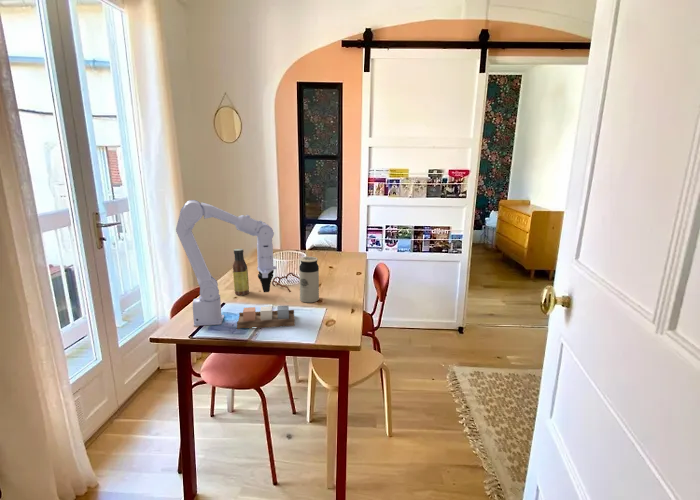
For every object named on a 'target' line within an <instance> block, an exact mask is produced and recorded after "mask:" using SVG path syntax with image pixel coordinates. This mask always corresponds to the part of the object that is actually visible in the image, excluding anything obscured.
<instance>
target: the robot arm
mask: <svg viewBox="0 0 700 500" xmlns="http://www.w3.org/2000/svg"><path fill="white" fill-rule="evenodd" d="M202 218H203V219H204V220H205V219H210V218H214V219H218V220H220V221H223V222H226V223H229V224H232V225H234V226H235V229H236V230H238V231H240V232H242V233H245V234H247V235H250V236H252V237H256V240H257V241H256V242H257V243H256V250H257V251H256V253H257V254H256V255H257V256H256V257H257V258H256V259H257V271H258V274H257V277H258V279H259V281H260V284H261V289H262V291H263V293H270V290H271V284H272V281H273V279H274V271H275V270H277V266H276V265H275V266H274V245H273V237H274V235H275V232H274V230H273V228H272V227H271V226H270V225H269V224H268V223H266V222H263V221H262V220H257V219H254V218H252V217H251V215H249V214H246V215H244V214H241V215H239V216H237V215H234V214H233V213H230V212H229V211H226V210H224V209H221V208H220V207H217V206H215V205H212V204H209V203H205V202H202V201H201V202H200V201H198V200H196V199H190V200H187V201H186V202H185V203H184V204H183V206H182V207H181V209H180V212H179V215H178V218H177V223H176V227H175V232H176V234H177V236H178V239H179V241H180V243H181V246H182V248H183V250H184V252H185V254H186V257H187V259H188V262H189V263H190V266H191V268H192V270H193V272H194V275H195V278H196V279H197V280H196V281H197V284H198V286H199V297H198V298H194V299H192V300H193V301H192V314H193V315H192V316H193V326H194V327H197V326H199V327H200V326H214V325H215V326H217V325H218V326H219V325H222V323H223V320H224V317H225V315H224V314H222V303H221V294H220V290H219V287H218V286H219V285H218V281H217V279H216V278H215V277H213V275H212V273H211V272H210V270H209V268H208V266H207V264H206V261H205V258H204V256H203V254H202V252H201V250H200V248H199V245H198V243H197V240H196V238H195V236H194V234H193V229H194V227H195V225H196V223H198V222H199V221H200V220H201V219H202Z"/></svg>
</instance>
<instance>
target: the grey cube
mask: <svg viewBox="0 0 700 500" xmlns="http://www.w3.org/2000/svg"><path fill="white" fill-rule="evenodd" d="M289 307H290V306H289V305H277V309H276V311H277V312H278V319H289V310H290V309H289Z"/></svg>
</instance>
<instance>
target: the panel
mask: <svg viewBox="0 0 700 500" xmlns="http://www.w3.org/2000/svg"><path fill="white" fill-rule="evenodd" d="M255 312H256V317H255V321H243V311H242V312H239V314H238V315H239V316H238V319H237V321H236V329H237V330H241V329H240V328H249V329H253V328H252V327H257V328H256V329H261V328H276V327H277V328H279V327H280V326H282V327H296V322H295V320H296V318H295V309H289V319H278V312H277V310H272V320H261V315H260V311H255Z"/></svg>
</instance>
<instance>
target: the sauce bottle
mask: <svg viewBox="0 0 700 500" xmlns="http://www.w3.org/2000/svg"><path fill="white" fill-rule="evenodd" d="M244 253H245V252H244V249H243V248H234V249H233V254H234V261H233V263H232V276H233V277H232V278H233V286H234V287H233V288H234V289H233V290H234V293H235V295H237V296H245V295H248V294H249V293H250V286H249V274H248V271H249V270H248V266H247V262H246V260H245V259H244Z"/></svg>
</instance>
